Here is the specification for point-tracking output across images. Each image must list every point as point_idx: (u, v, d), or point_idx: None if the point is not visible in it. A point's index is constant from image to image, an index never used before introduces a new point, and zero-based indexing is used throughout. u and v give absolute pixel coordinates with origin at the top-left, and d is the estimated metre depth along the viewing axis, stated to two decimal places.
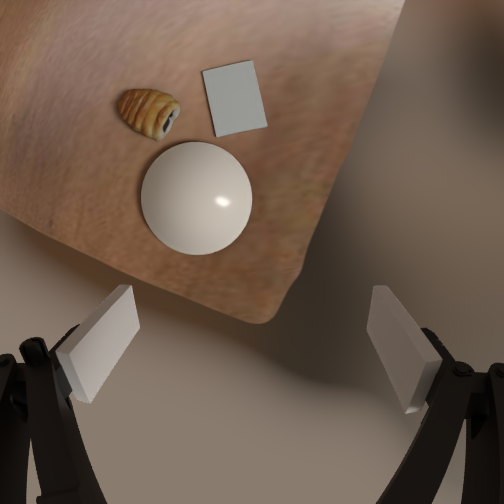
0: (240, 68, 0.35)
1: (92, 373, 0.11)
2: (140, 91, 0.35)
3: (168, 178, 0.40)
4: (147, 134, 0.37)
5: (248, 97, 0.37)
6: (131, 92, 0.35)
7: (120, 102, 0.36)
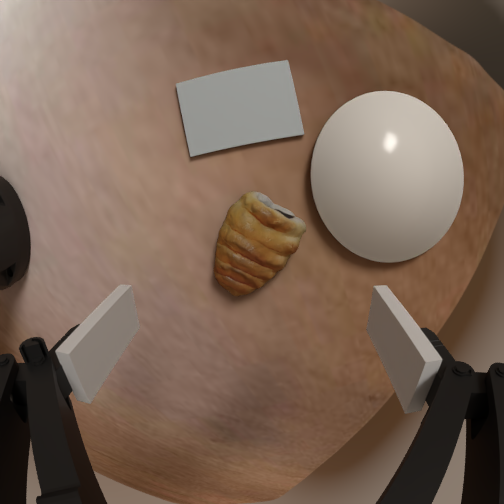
0: (189, 99, 0.23)
1: (92, 373, 0.11)
2: (219, 257, 0.26)
3: (363, 215, 0.25)
4: (296, 244, 0.25)
5: (239, 85, 0.23)
6: (219, 273, 0.27)
7: (234, 291, 0.27)
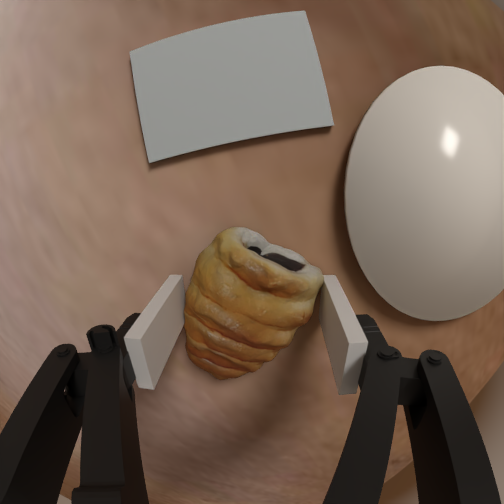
0: (149, 73, 0.14)
1: (156, 359, 0.12)
2: (190, 333, 0.16)
3: (420, 256, 0.15)
4: (310, 311, 0.15)
5: (227, 46, 0.13)
6: (193, 353, 0.17)
7: (218, 375, 0.17)
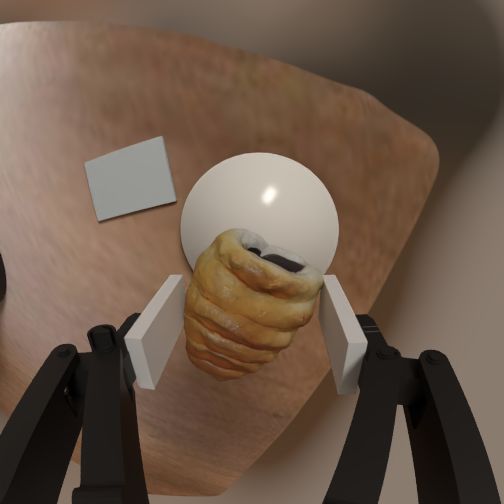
0: (94, 176, 0.30)
1: (156, 359, 0.12)
2: (190, 334, 0.16)
3: None
4: (310, 312, 0.15)
5: (126, 162, 0.29)
6: (193, 354, 0.17)
7: (218, 377, 0.17)
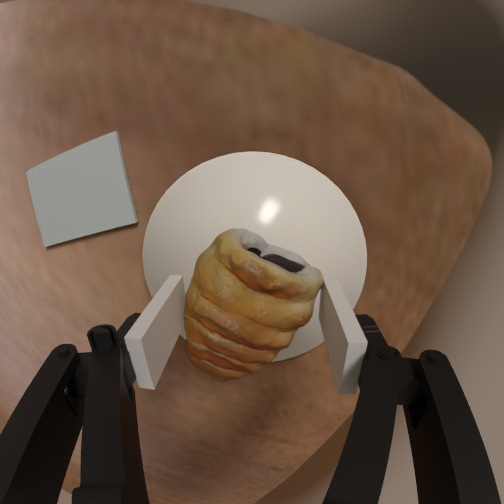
0: (36, 188, 0.20)
1: (156, 359, 0.12)
2: (190, 334, 0.16)
3: None
4: (310, 312, 0.15)
5: (72, 169, 0.20)
6: (193, 354, 0.17)
7: (218, 377, 0.17)
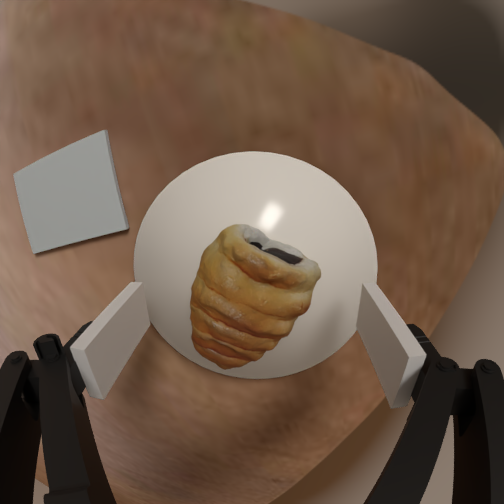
0: (24, 192, 0.18)
1: (106, 369, 0.11)
2: (195, 324, 0.17)
3: None
4: (308, 301, 0.16)
5: (59, 172, 0.18)
6: (198, 343, 0.18)
7: (222, 365, 0.18)
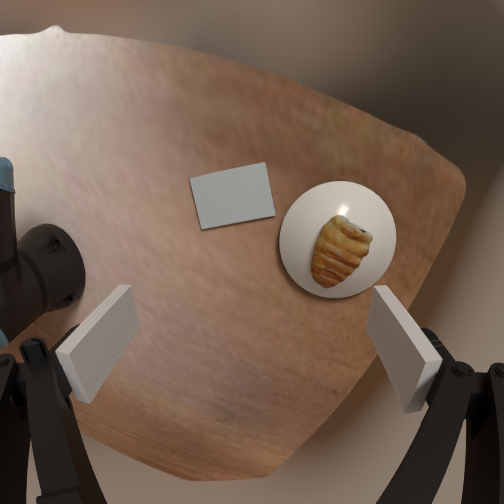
0: (199, 190, 0.39)
1: (92, 373, 0.11)
2: (317, 261, 0.37)
3: None
4: (368, 249, 0.36)
5: (232, 181, 0.38)
6: (316, 272, 0.37)
7: (326, 284, 0.38)
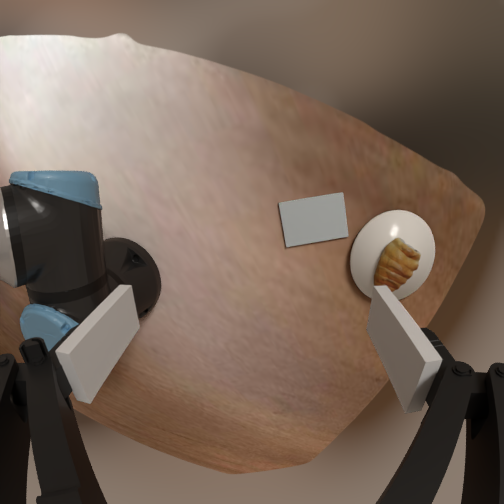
0: (287, 214, 0.45)
1: (92, 373, 0.11)
2: (381, 274, 0.44)
3: None
4: (418, 265, 0.43)
5: (315, 207, 0.45)
6: (380, 282, 0.45)
7: None
